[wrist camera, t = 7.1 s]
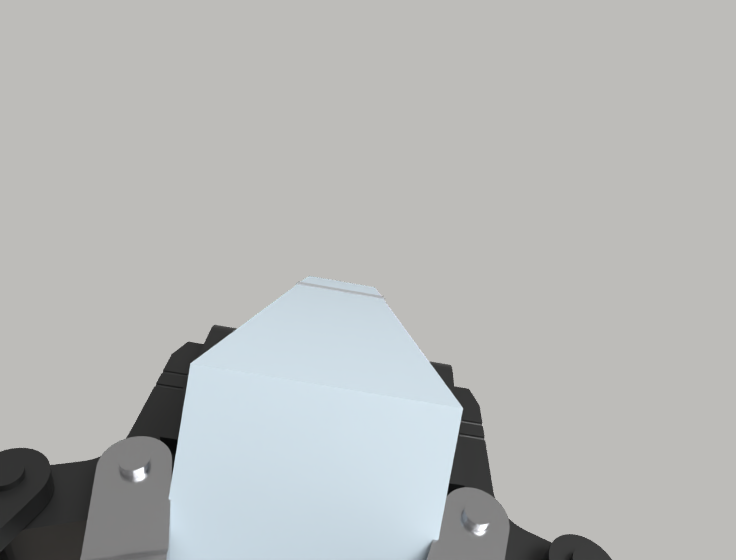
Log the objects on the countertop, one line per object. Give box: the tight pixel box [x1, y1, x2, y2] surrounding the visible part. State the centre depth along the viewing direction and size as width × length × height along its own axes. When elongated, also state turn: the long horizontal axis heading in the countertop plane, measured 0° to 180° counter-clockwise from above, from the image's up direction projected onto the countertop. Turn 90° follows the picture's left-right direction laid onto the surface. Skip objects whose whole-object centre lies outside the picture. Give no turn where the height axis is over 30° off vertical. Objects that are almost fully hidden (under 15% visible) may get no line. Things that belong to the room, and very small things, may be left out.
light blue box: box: [169, 276, 463, 560], centre depth 23 cm, size 5×28×5 cm, turn 2°
